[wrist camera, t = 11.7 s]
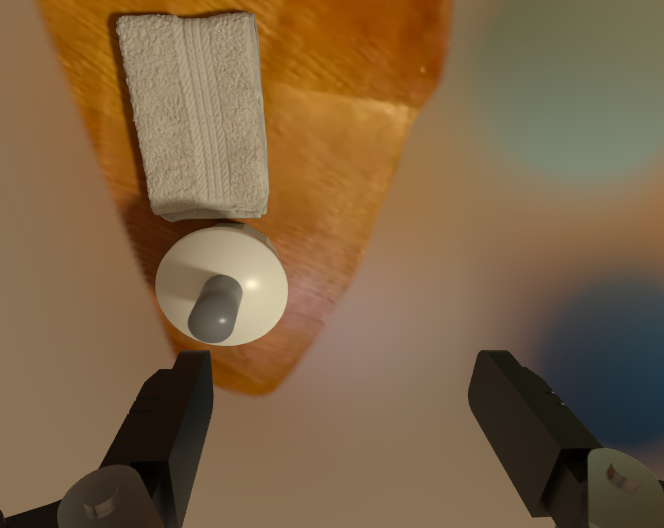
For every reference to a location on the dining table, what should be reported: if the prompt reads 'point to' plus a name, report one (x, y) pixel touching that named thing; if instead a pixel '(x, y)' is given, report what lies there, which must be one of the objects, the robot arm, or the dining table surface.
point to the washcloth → (198, 113)
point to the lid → (222, 286)
